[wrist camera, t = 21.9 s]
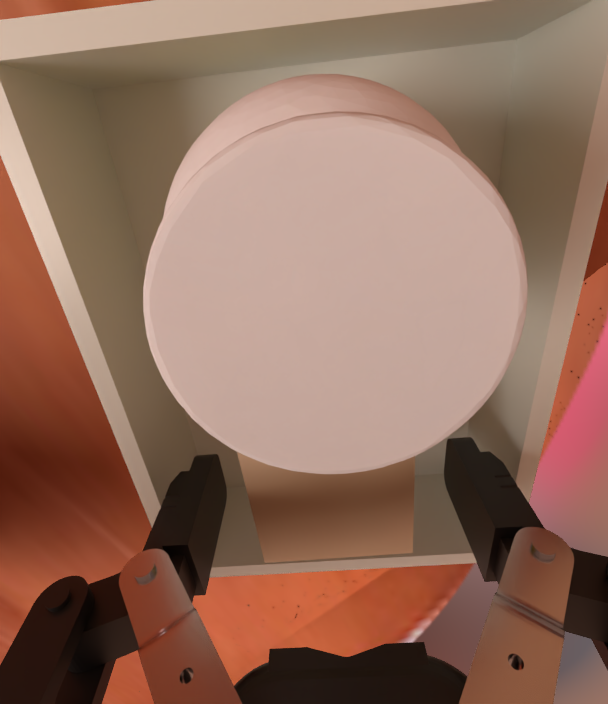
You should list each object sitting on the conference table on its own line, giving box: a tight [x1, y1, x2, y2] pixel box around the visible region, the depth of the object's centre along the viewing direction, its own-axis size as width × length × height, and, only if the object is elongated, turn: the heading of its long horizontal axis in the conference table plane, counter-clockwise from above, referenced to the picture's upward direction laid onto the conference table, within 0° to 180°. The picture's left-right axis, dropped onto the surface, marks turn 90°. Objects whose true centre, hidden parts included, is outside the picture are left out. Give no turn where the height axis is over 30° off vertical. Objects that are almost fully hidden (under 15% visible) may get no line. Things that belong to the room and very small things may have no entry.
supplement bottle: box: [143, 74, 528, 474], centre depth 8 cm, size 5×5×10 cm
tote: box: [0, 0, 608, 577], centre depth 13 cm, size 17×13×5 cm
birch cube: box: [237, 452, 415, 563], centre depth 14 cm, size 5×5×5 cm
